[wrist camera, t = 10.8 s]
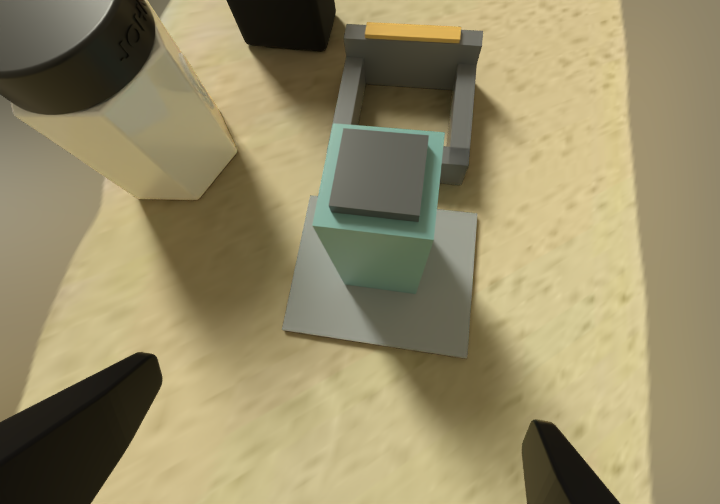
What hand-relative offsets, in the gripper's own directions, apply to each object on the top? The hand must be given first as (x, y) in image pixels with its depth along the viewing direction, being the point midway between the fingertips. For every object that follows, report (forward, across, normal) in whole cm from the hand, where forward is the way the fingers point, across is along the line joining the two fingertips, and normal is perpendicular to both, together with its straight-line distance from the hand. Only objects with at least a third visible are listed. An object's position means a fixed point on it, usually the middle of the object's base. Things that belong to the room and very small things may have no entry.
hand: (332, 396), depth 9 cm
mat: (+14, 0, +5) cm, 15 cm away
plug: (+15, 0, +4) cm, 15 cm away
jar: (+19, +16, 0) cm, 25 cm away
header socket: (+22, 0, -3) cm, 22 cm away
